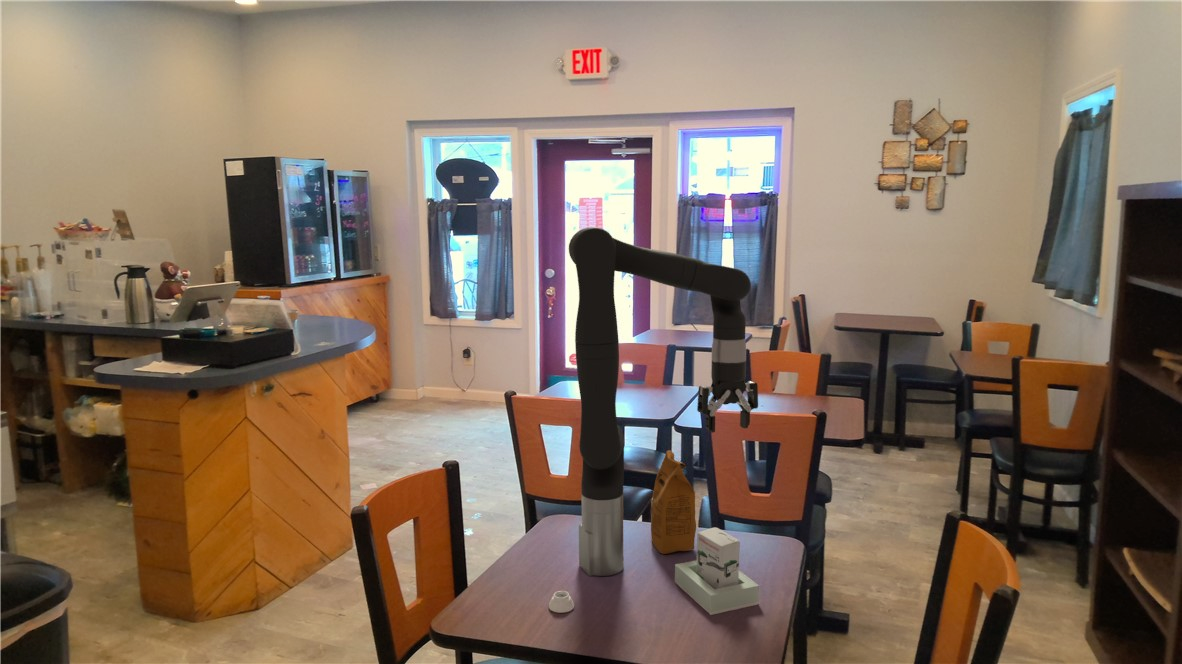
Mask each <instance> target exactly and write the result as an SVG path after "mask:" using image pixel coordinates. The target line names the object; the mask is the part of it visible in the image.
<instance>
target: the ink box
mask: <svg viewBox="0 0 1182 664" xmlns="http://www.w3.org/2000/svg"><path fill="white" fill-rule="evenodd" d="M696 534H697V535H696V536H697V539H696V541H697V542H696V560H697V564H696V574H697V575H698V576H699V577H701V578H702V579H703V580H704V581H705V582H707V583H708V584H709V585H710V586H711V587H712V588H714V589H719V588H724V587H728V586H733V585H738V579H739V571H740V570H739V569H740V548H741V545H740V543H741V541H740V540H739V539H738V538H736V537H734V536H732V535H731V534H729V533H727V532H725V531H723V530H722V529H720V528H718V527H711V528H710V527H709V528H708V529H704V530H700V531H697V533H696Z"/></svg>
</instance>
